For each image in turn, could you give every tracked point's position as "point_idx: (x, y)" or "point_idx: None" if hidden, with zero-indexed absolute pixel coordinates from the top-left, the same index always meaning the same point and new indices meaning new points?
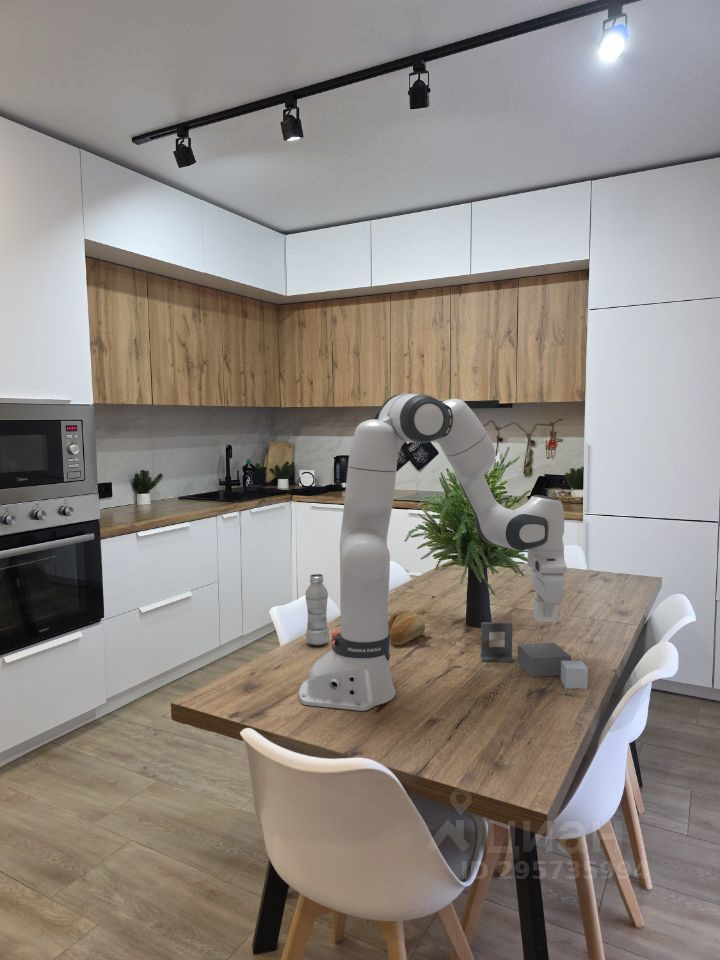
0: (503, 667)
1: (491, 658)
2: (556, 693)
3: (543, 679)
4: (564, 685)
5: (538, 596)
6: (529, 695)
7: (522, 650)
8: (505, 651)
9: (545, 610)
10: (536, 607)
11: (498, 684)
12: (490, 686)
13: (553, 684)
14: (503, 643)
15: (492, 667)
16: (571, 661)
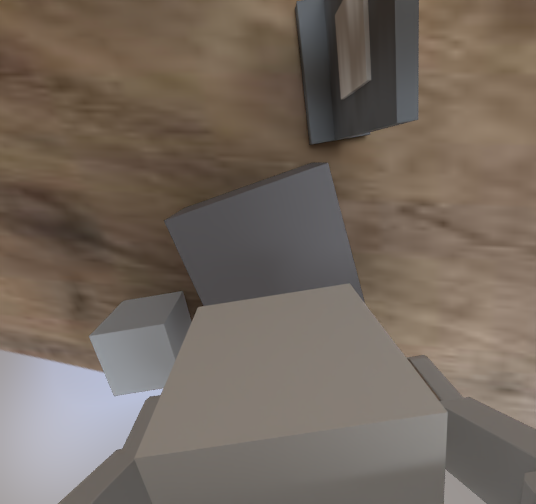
0: (248, 105)
1: (304, 48)
2: (75, 273)
3: (172, 242)
4: (139, 298)
5: (516, 455)
6: (24, 193)
7: (271, 182)
8: (339, 109)
9: (123, 450)
10: (210, 377)
11: (75, 83)
12: (44, 49)
13: (141, 269)
14: (346, 90)
15: (239, 58)
16: (165, 355)
